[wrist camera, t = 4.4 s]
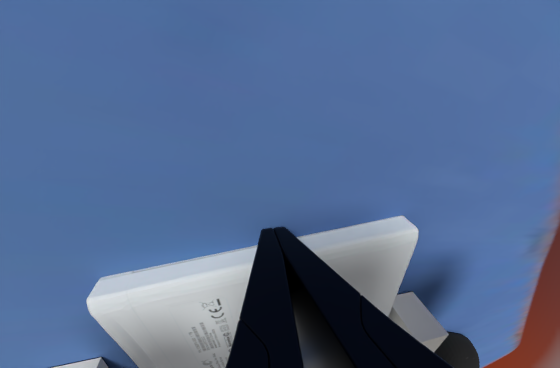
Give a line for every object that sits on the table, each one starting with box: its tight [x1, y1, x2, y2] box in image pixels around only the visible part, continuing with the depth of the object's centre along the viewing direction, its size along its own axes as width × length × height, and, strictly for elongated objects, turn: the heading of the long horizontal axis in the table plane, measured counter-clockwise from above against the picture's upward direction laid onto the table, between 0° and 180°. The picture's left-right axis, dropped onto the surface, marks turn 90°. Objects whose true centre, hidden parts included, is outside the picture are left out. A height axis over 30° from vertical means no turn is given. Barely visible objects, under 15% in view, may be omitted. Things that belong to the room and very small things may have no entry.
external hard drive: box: [87, 216, 418, 368], centre depth 10 cm, size 2×8×12 cm
